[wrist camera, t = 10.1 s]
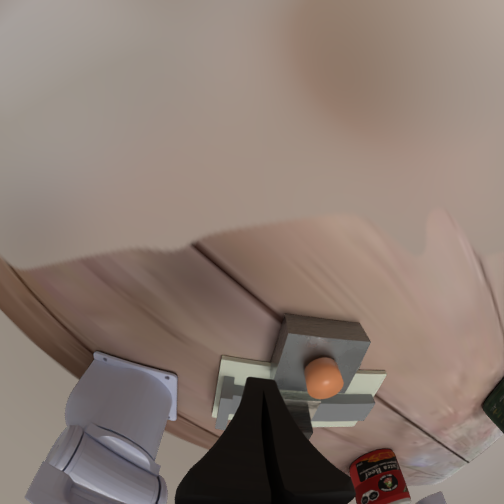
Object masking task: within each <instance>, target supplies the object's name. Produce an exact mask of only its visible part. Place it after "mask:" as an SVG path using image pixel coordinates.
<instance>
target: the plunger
mask: <svg viewBox="0 0 504 504" xmlns="http://www.w3.org/2000/svg"><path fill="white" fill-rule="evenodd" d="M304 376H305V381H306V386H307V391H308V394H309V395H310V396H311V397H313V398H315V399H327V398H330V397H332V396H334V395H336V394H337V393H339V392H340V390H341V389H342V387H343V384H344V382H343V379H342V376H341V373H340V370H339V368H338V365H337V363H336V361H335V360H333V359H331V358H318V359H315V360H313V361H312V362H310V363H309V364H308V365H307V366H306V368H305V370H304Z"/></svg>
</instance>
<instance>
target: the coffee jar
mask: <svg viewBox="0 0 504 504" xmlns="http://www.w3.org/2000/svg"><path fill="white" fill-rule="evenodd" d="M483 410H484V412H485V413H486V414H487V416H488V417H489V418H490V419H491V420H492V421H493V422H494V423H495V424H496V426H497V427H498V428H499V429H500V430H501V431H502V432H503V433H504V379H503V380H502V381H501V382H500V384H499V385H498V386H497V387H496V388H495V390H494V391H493V392H492V393H491V395H490V396H489V397H488V398H487V399H486V401H485V403H484V406H483Z"/></svg>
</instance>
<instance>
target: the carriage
mask: <svg viewBox="0 0 504 504" xmlns="http://www.w3.org/2000/svg"><path fill="white" fill-rule="evenodd" d="M279 391H280V393H281V395H282V398H283V400H284V402H285V404H286V406H287V408H288V410H289V411H290V413H291V415H292V417H293V418H294V420H295V422H296V423H297V425H298V426H299V428H300V429H301V431H302V432H303V434H304V435H305V436H306V437H307V439H308V440H309V438H310V437H311V435H312V434H313V429H312V424H311V420H312V418H313V416H314V414H315V412H316V411H317V409H318V407H319V405H320V403H321V399H315V398H313V397H311V396H310V395H309V394H308V392H303V391H291V390H280V389H279Z"/></svg>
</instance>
